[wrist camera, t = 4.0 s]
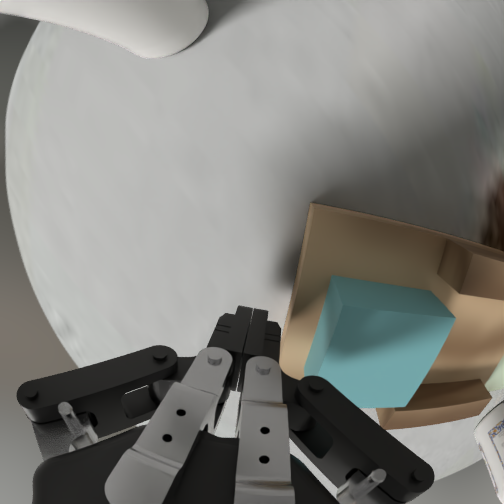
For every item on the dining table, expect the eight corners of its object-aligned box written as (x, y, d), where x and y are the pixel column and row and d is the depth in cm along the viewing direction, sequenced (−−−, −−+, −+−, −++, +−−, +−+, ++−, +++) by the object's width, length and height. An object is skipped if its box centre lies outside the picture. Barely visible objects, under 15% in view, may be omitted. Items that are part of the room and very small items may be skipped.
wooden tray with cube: (310, 202, 14) (321, 218, 9) (569, 277, 11) (593, 293, 7) (271, 375, 18) (266, 425, 13) (527, 370, 15) (543, 392, 11)
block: (331, 274, 13) (343, 305, 10) (430, 290, 12) (456, 317, 9) (303, 367, 15) (305, 405, 12) (392, 373, 14) (405, 406, 11)
